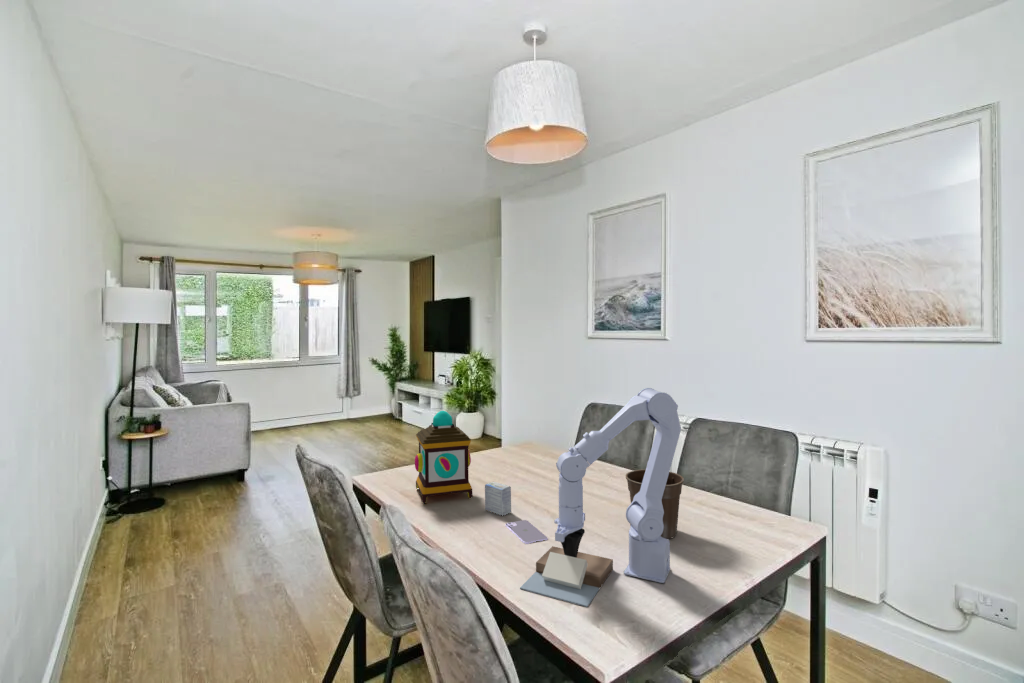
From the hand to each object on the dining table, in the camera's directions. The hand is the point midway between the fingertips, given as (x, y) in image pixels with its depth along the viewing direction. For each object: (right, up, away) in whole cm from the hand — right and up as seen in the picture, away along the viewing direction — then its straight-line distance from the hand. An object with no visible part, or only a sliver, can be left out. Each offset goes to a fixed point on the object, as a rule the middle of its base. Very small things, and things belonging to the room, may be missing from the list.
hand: (570, 560), depth 119 cm
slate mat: (-3, -4, -6) cm, 8 cm away
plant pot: (+27, -3, +25) cm, 37 cm away
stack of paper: (-19, -3, +42) cm, 46 cm away
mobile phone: (-10, -4, +26) cm, 28 cm away
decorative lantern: (-39, -3, +59) cm, 71 cm away
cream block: (-2, -2, -3) cm, 4 cm away
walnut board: (+1, -4, +2) cm, 4 cm away
